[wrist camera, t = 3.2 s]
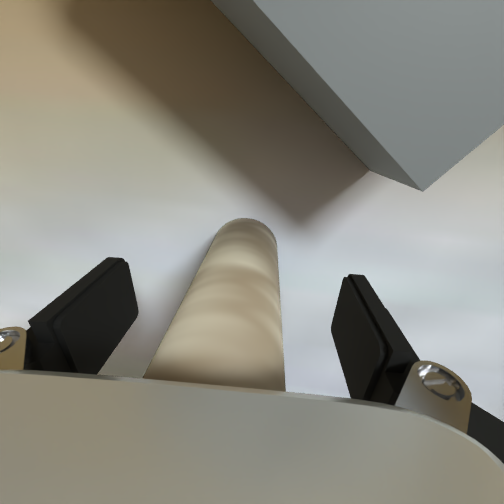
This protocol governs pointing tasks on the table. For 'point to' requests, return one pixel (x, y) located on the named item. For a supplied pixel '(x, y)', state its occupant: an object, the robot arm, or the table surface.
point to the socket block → (389, 74)
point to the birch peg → (229, 316)
